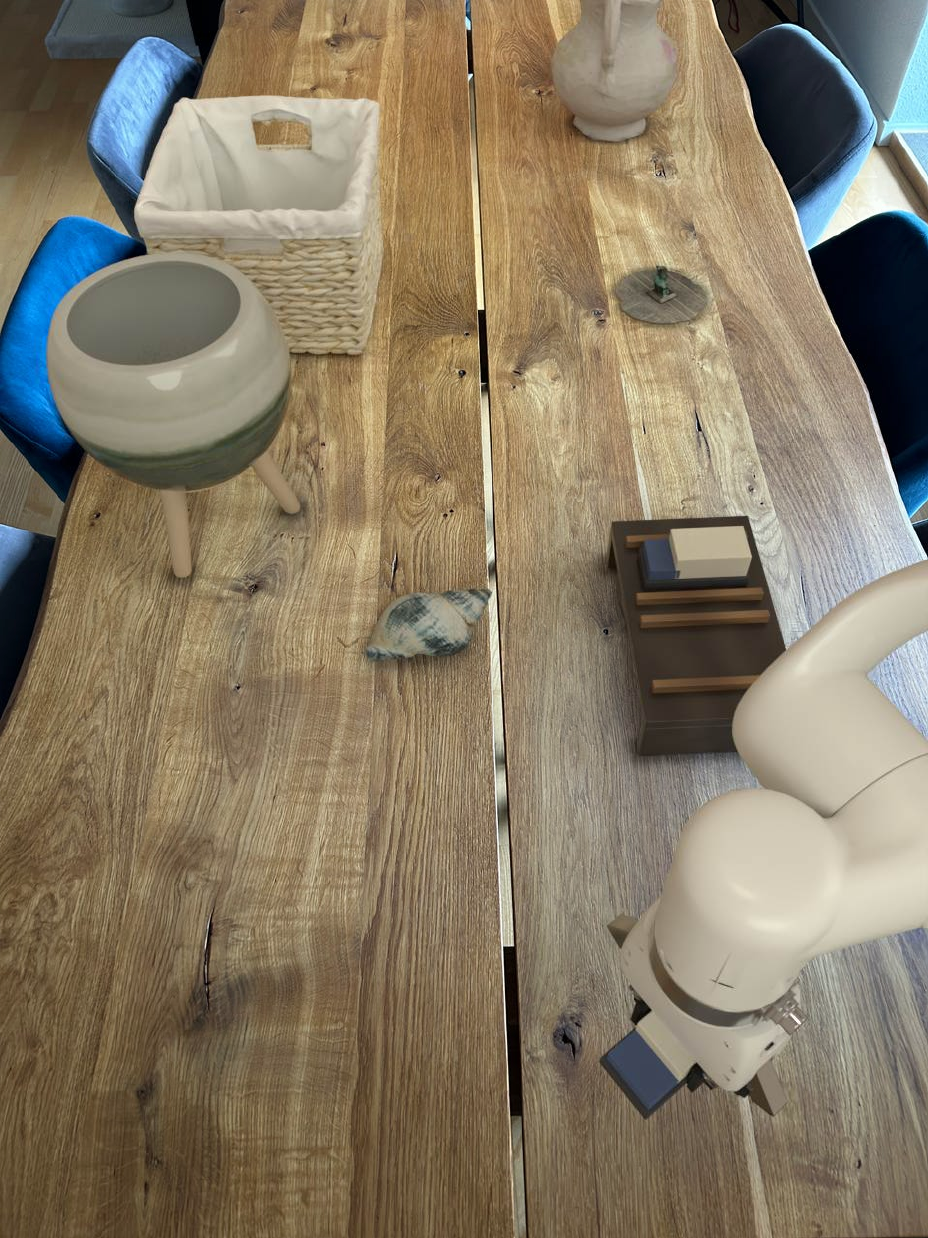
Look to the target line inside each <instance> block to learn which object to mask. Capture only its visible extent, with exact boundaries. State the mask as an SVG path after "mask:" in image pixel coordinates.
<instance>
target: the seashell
mask: <svg viewBox="0 0 928 1238" xmlns="http://www.w3.org/2000/svg"><path fill="white" fill-rule="evenodd" d="M492 594H493V591H492V590H490V589H489V588H485V589H484V588H482V589H477V588H469V589H466V590H464V589H458V590H456V589H452V590H446V591H443V592H442V593H440V594H437V593H433V592H412V593H407V594H404V595H401V596H399V597H397V598H395V599H394V600H393V601H392V602H391V603H389V604H388V606H387V607H386V608H385V609H384V610H383V612H382V614H381V615H380V617H379V618H378V620H377V622H376V624H375V626H374V628H373V630H372V632H371V637H370V643H369V645H367V647H365V649H364V651H365V656H366V658H367V659H368V660H369V661H371V662H375V663H376V662H380V661H385V660H387V659H388V660H389V659H390V660H405V659H408V658H412V657H414V656H415V655H417V654H420V655H426V656H431V657H438V658H444V657H451V656H454V655H457V654H459V653H460V652H462V651H463V650H464V649H466V647H467V646H468V644H469V643H470V641H471V638H472V636H473V632H474V627H475V625H476V623H478V622H479V621H480V620H481V618H482V617H483V615H484V612H485V608H486V607H487V605H488V603H489V600H490V598H491V596H492Z"/></svg>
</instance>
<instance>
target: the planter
mask: <svg viewBox="0 0 928 1238" xmlns="http://www.w3.org/2000/svg"><path fill="white" fill-rule="evenodd" d="M49 323H50V324H49V328H48V331H47V332H48V333H47V339H46V350H45V351H46V352H45V361H46V363H45V364H46V372H47V373H46V375H47V379H48V384H49V388H50V392H51V396H52V399H53V401H54V404H55V407H56V409H57V411H58V413H59V415H60V418H61V419H62V421H63V423H64V425H65V426H66V429H68V431H69V433H70V434H71V436H72V437H73V438H74V440H75V441H76V443H78V445H79V446H80V447H81V448H82V449H83V450H84V451H85V452H86V453H87V454H88V455H89V456H90V457H92V459H93V460H95V461H96V462H97V463H98V464H100V465H101V466H102V467H103V468H105V469H106V470H108V471H109V472H110V473H113V474H114V475H116V476H118V477H120V478H122V479H124V480H125V481H128V482H129V483H130V482H131V483H133V484H135V485H138V486H141V487H144V488H149V489H152V490H158V491H159V494H160V495H159V496H160V500H161V501H160V502H161V506H162V511H163V517H164V524H165V529H166V535H167V542H168V550H169V554H170V562H171V567H172V571H173V575H175V577H177V578H179V579H184V578H187V577H189V576H190V575H191V573H192V571H193V566H192V564H193V563H192V553H191V551H192V550H191V549H192V548H191V535H190V520H189V508H188V497H187V493H191V494H192V493H199V492H200V493H201V492H205V491H209V490H213V489H216V488H219V487H222V486H224V485H227V484H228V483H230V482H232V481H234V480H235V479H237V478H239V477H240V476H241V475H243V474H244V473H245V472H246V471H247V470H249V468H252V470H253V471H254V472H255V474H256V475H257V477H258V478H259V480H260V481H261V482H262V484H263V485H264V486H265V488H266V489H267V490H268V492H269V493H270V494H271V495H272V496H273V498H274V500H276V501H277V503H278V505H279V506H280V507H281V509H282V510H283V511H284V512H285V513H287V514H289V515H293V514H294V515H295V514H297V513H298V512H299V511H300V510H301V504H300V501H299V500H298V498H297V496H296V494H295V492H294V491H293V489H292V487H291V486H290V484H289V483H288V480H286V478H285V476H284V475H283V473H282V472H281V470H280V468H279V467H278V465H277V463H276V462H275V460H274V458H273V456H272V455H271V453H270V452H269V448H270V447H271V445H272V444H273V443H274V441H275V439H276V438H277V436H278V434H279V433H280V431H281V429H282V426H283V424H284V421H285V419H286V417H287V413H288V410H289V405H290V401H291V394H292V383H293V372H292V371H293V370H292V362H291V361H292V360H291V355H290V352H289V349H288V344H287V341H286V338H285V335H284V332H283V329H282V327H281V324H280V322H279V320H278V318H277V316H276V314H275V312H274V310H273V309H272V307H271V305H270V304H269V302H268V301H267V299H266V298H265V297H264V295H263V294H262V293H261V291H260V290H259V289H258V288H257V287H256V286H255V284H254V283H253V282H252V281H251V280H250V279H249V278H248V277H247V276H245V275H244V274H243V273H242V272H241V271H239V270H238V269H236V268H235V267H233V266H232V265H230V264H228V263H226V262H224V261H221V260H219V259H216V258H212V257H209V256H204V255H199V254H192V253H158V254H150V255H149V254H144V255H139V256H135V257H132V258H130V257H129V258H128V259H127V258H126V259H123V260H120V261H117V262H115V263H111V264H110V265H108V266H105V267H102V268H101V269H99V270H97V271H95V272H93V273H91V274H90V275H88V276H86V277H85V278H83V279H82V280H81V281H79V282H78V283H77V284H75V285H74V286H73V287H71V289H70V290H69V291H68V292H67V293H66V294H65V295H64V296H63V297H62V298H61V300H60V302H58V304H57V306H56V308H55V310H54V311H53V314H52V317H51V320H50V322H49Z"/></svg>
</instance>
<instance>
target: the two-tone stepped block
mask: <svg viewBox="0 0 928 1238" xmlns="http://www.w3.org/2000/svg"><path fill="white" fill-rule="evenodd" d="M751 559H752V555H751V552H750V548H749V545H748V541H747V538H746V534H745V530H744V527H743V526H732V527H709V528H686V529H671V531H670V536H669V539H656V540H644V544H643V548H639V551H638V560H639V565H640V570H641V576H642V581H643V586H644V590H663V589H686V588H709V587H732V586H747V585H748V582H749V579H750V577H749V574H748V568H749V565H750V562H751Z"/></svg>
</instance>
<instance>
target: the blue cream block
mask: <svg viewBox="0 0 928 1238" xmlns="http://www.w3.org/2000/svg"><path fill="white" fill-rule="evenodd" d="M599 1064H600V1065H601V1068H603V1070H604V1071H605V1072H606V1073H607V1074H608V1076H609V1077H610V1078H611V1079H612V1081H613V1082H614V1083H615V1085H616V1086H617V1087H618V1088H619V1090H620V1091H621V1092H622V1093H623V1094H624V1096H625V1097H626V1098H627V1099H628V1101H629V1102H630V1103H631V1104H632V1106H633V1107H634V1108H635V1110H636V1111H638V1113H639V1114H640V1116H641V1117H642V1118H643V1119H644V1121H647V1120H648V1119H649V1118H651V1116H652V1115H653V1114H655V1113H656V1112H657V1111H658V1110H659V1109H660V1108H661V1107H662V1106H664V1105H665V1103H667V1102H668V1101H669V1100H670V1099H671V1098H672V1097H673V1096H674V1095H676V1094H677V1093H678V1092H679V1091H680V1090H681V1089H682V1088H683V1087H684V1086H685V1085H687V1083H686V1082H687V1079H688V1077H689V1076H690V1074H691V1072H692V1070H693V1069H694V1068H695V1067H696V1066H697V1065H698V1063H697V1062H696V1061H695V1060H694V1059H693V1057H692V1056H691V1055H690V1054H689V1053H688V1052H687V1051H686V1049H685V1048H684V1047H683V1046H682V1045H681V1044H680V1042H679V1041H678V1040H677V1039H676V1038H675V1037H674V1035H673V1034H672V1033H671V1032H670V1031H669V1030H668V1028H667V1027H666V1026H665V1025H664V1024H663V1023H662V1021H661V1020H660V1019H659V1018H658V1017H657V1016H656V1014H655V1013H654V1012H653V1011H650V1012H649V1013H648V1014H647V1015H646V1016H645V1017H644V1018H642V1019H641V1020H640V1021H639V1022H638V1023H637V1025H636V1026H635V1027H634V1028H633V1029H631V1030H630V1031H629V1033H626V1035H624V1037H622V1038H620V1040H619V1041H618V1042H617V1043H615V1044H614V1045H613V1046H612V1047H611V1048H610V1049H608V1051H606V1052H605V1053H604V1054H603V1055H602V1056H600V1058H599Z"/></svg>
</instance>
